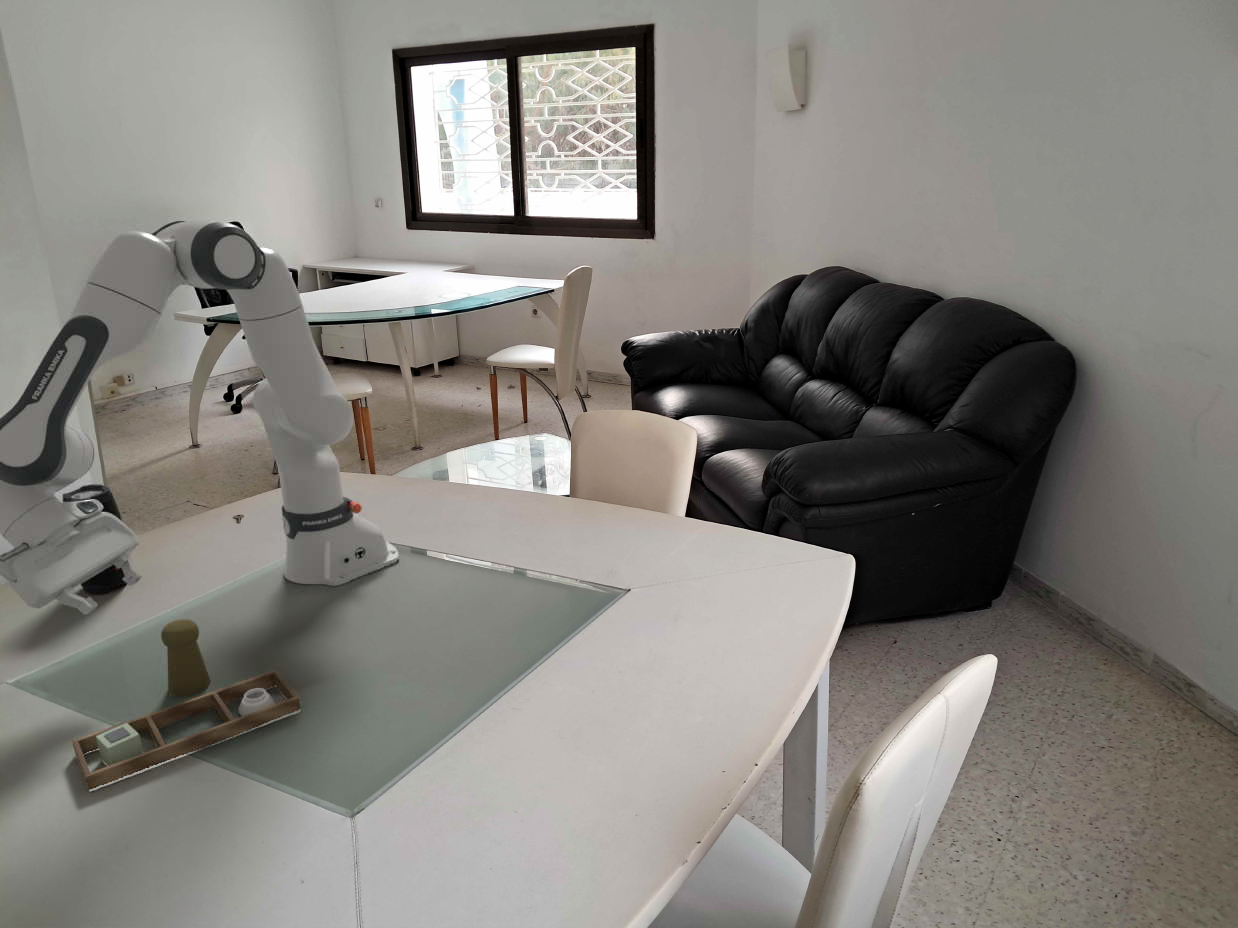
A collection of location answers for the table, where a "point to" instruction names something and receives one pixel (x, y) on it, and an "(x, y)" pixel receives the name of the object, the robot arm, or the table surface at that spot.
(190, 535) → the table surface
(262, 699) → the lidless jar
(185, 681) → the cork
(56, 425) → the robot arm
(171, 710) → the organiser
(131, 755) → the cube with grey panel
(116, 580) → the portable speaker
